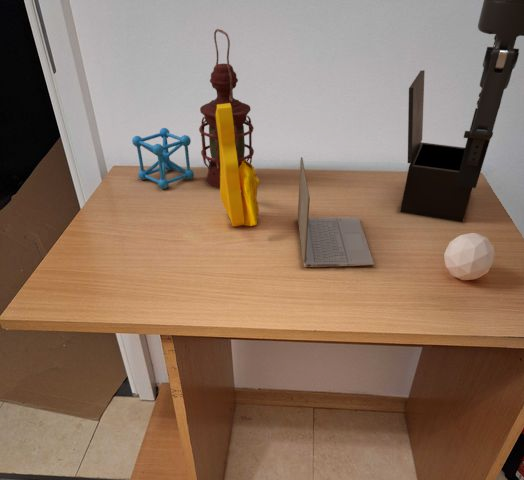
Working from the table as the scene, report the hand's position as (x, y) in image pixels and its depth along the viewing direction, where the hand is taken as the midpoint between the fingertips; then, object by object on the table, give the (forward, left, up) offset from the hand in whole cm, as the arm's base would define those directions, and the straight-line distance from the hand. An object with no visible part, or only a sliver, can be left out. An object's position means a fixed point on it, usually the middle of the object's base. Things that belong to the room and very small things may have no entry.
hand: (469, 168), depth 72 cm
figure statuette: (+40, -5, -18) cm, 44 cm away
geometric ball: (-4, 0, -18) cm, 18 cm away
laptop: (+20, -3, -18) cm, 27 cm away
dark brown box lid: (+11, -28, -1) cm, 30 cm away
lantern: (+51, -23, -18) cm, 59 cm away
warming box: (+4, -28, -18) cm, 33 cm away
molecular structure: (+65, -18, -18) cm, 70 cm away
